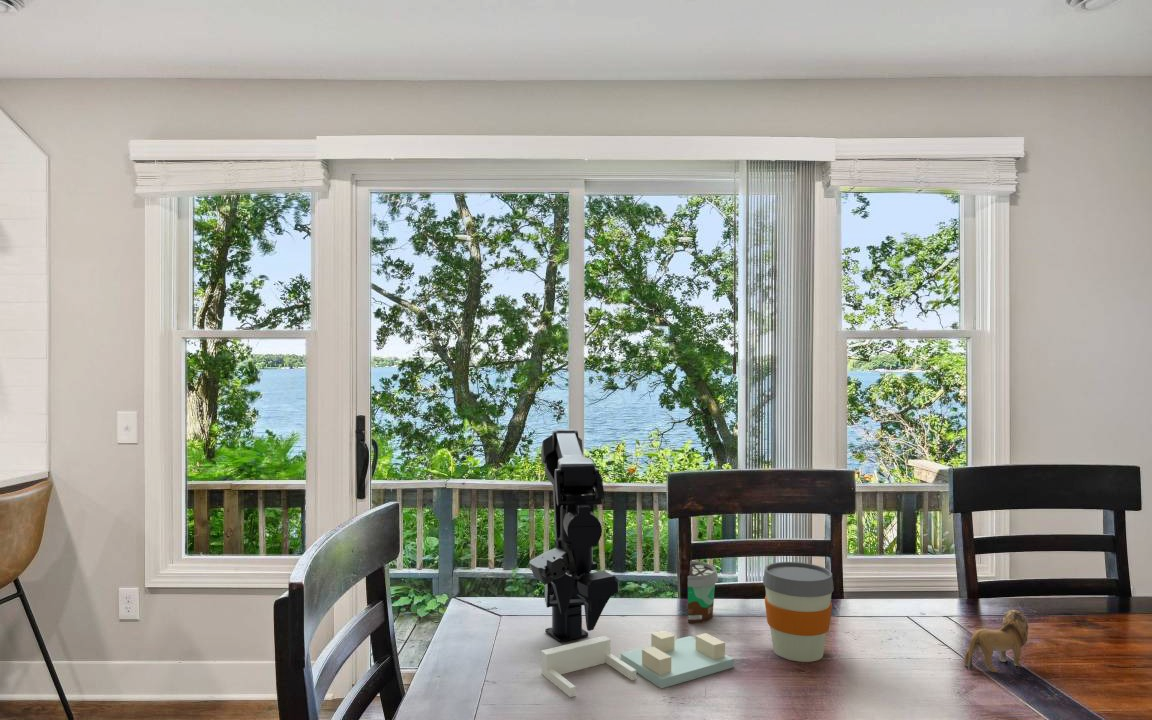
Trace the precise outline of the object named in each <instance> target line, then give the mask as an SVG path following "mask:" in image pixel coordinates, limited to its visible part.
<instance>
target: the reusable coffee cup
mask: <svg viewBox="0 0 1152 720" xmlns="http://www.w3.org/2000/svg"><path fill="white" fill-rule="evenodd" d="M762 579H763V581H762V584H763V586H764V587H765V597H764V605H765V606H764V607H765V614H766V622H767V624H768V626H769V629H770V637H771V645H772V650H773V652H774V653H775V654H776V655H777V656H779V657H781V658H783V659H785V660H789V661H794V662H800V663H801V662H803V663H810V662H816V661H819V660H822V659H823V656H824V651H825V645H826V638H827V637H826V636H827V633H828V632H829V630H830V626H831V619H832V611H833V610H832V609H833V603H832V602H831V600H832V593H834V581H833V573H832V572H831V571H830V570H829V569H828V568H826V567H823V566H820V565H817V564H814V563H813V564H811V563H807V562H806V563H805V562H800V561H799V562H797V561H781V562H779V561H778V562H773V563H770V564H767V565H766V566H765V567H764V571H763V578H762Z"/></svg>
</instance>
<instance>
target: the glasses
mask: <svg viewBox="0 0 1152 720" xmlns="http://www.w3.org/2000/svg"><path fill="white" fill-rule="evenodd" d="M611 643H612V640H611V638H609V637H607V636H606V635H602V636H598V637H592V638H589V639H585V640H579V641H576V642H573V643H567V644H564V645H560V646H554V647H550V648H546V649H542V650H541V652H540V653H541V655H540V656H541V657H540V659H541V660H540V661H541V664H540V665H541V672H540V673H541V675H542V676H544V677H545V678H546V679H547V680H548V681H550V682H551V683H552V684H553V685H554V686H556V687H557V688H559V690H560V691H562V692H563V693H564V694H565V695H566V696H568V697H569V698H573V697H576V696H577V695H576V694H577V693H576V692H577V689H576V688H577V687H576V685H574V683H571V681H569V680H568V679H566V677H564V676H563V675H564V674H567V673H572V672H575V671H580V670H584V669H588V668H592V667H596V666H599V665H602V664H603V665H604V664H607V665H608V666H610V667H611V668H613V669H614V670H616V671H617V672H619V673H620V674H622V675H623V676H624V677H626V678H628V679H629V680H631V681H635V680H637V672H636V670H635V669H634V668H632V667H631V666H629V665H628V664H626V663H625V662H623V661H622V660H621V658H619V657H617V656H616V655H614V654H612V652H611V649H612V647H611V645H612V644H611Z"/></svg>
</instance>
